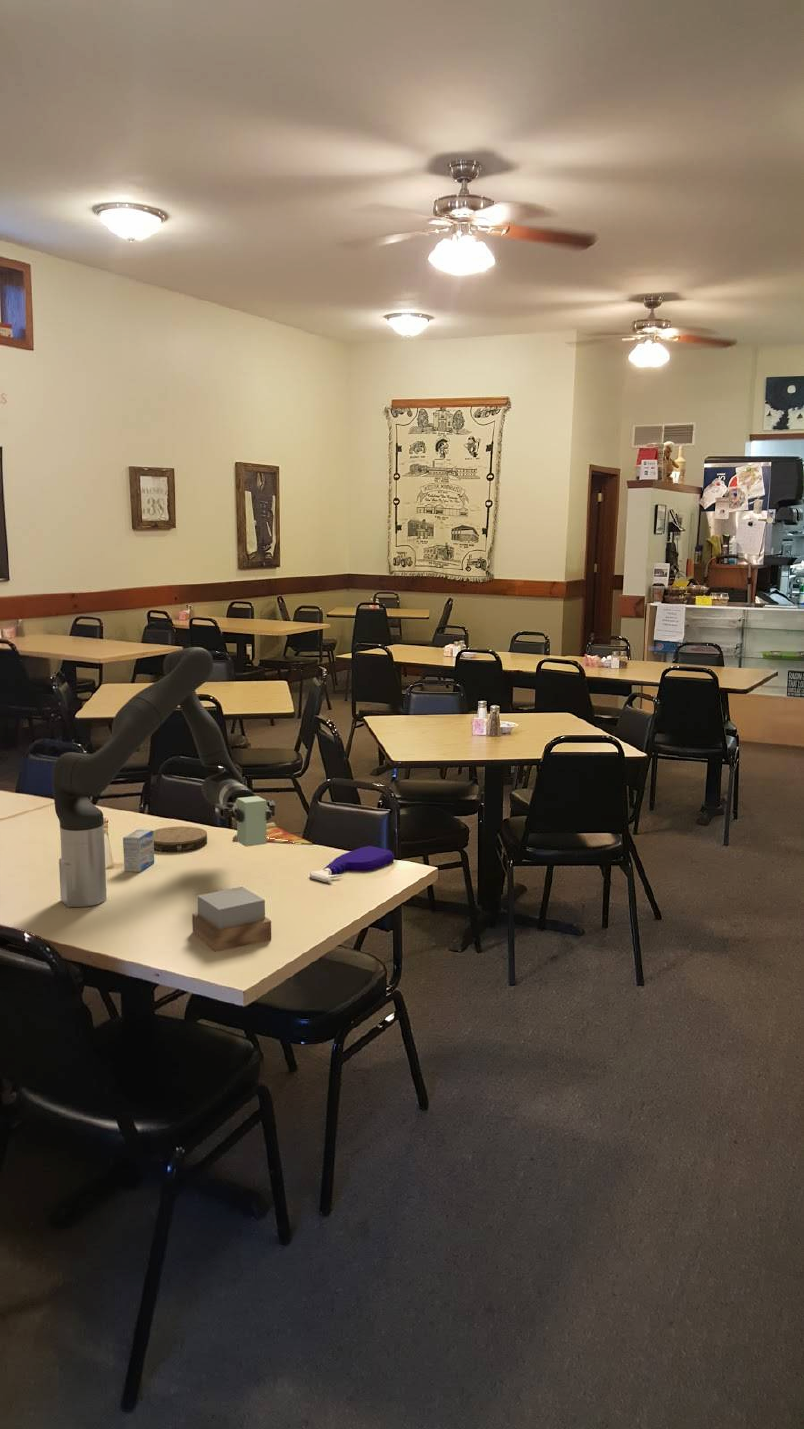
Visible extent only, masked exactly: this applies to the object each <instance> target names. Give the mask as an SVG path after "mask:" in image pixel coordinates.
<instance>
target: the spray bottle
mask: <svg viewBox="0 0 804 1429" xmlns="http://www.w3.org/2000/svg"><path fill="white" fill-rule="evenodd" d="M394 861H395V854H394V852H392V850H389V849H385V848H380V847H377V846H371V845H368V846H367V845H366V846H362V847H360V848H357V849H354V850H351V851H349V852H346V853H343V854H341V855H339V856H337V857H335V858H334V860H332V861H330V862H329V863H328V864H327V865H326V866H325V867H324V868H323V869H320V870H315V871H309V877H310V878H311V879H314V880H317V881H320V882H324V883H328V884H331V883H332V882H333V879H336V878H340V877H341V878H342V877H343V876H342V874H341V873H344V872H369V871H374V870H377V869H380V868H383V867H385V866H387V865H389V864H391V863H393V862H394Z"/></svg>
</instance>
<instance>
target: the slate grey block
mask: <svg viewBox="0 0 804 1429" xmlns="http://www.w3.org/2000/svg"><path fill="white" fill-rule="evenodd" d="M196 899H197V913H198V915H199V916H201V917H202V918H204V919H205V920H207V921H208V922H209V923H211V924H212V925H214V926H215V927H217V928H218V929H223V928H227V927H232V926H236V925H241V924H245V923H250V922H254V921H258V920H263V919H265V917H266V905H265V903H266V902H265V901H266V900H265V899H263V898H262V897H260V896H259V895H257V894H255V893H253V892H252V891H250V890H248V889H247V888H245V887H243V886H239V887H238V886H237V887H235V888H228V889H224V890H219V891H214V892H209V893H203V894H199V895H197V896H196Z"/></svg>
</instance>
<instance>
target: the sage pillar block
mask: <svg viewBox="0 0 804 1429" xmlns="http://www.w3.org/2000/svg"><path fill="white" fill-rule="evenodd" d="M266 803H267V800H266V799H264V798H262V797H260V796H259V795H255V796H253V797H244V798H237V809H239V810H240V811H241V812H242V814H243V821H242V822H238V821H236V834H237V841H236V842H237V843H239V844H241V845H242V846H244V847H254V846H255V847H256V846H259V845H261V846H262V845H267V843H268V842H267V823H268V820H266Z"/></svg>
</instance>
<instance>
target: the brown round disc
mask: <svg viewBox="0 0 804 1429" xmlns="http://www.w3.org/2000/svg"><path fill="white" fill-rule="evenodd" d="M153 838H154V852H157V853H171V854H172V853H174V854H175V853H184V852H192V851H196V850H199V849H202V848H204V847H206V846H207V844H208V833H207V831H206V829H203V828H200V827H195V826H170V827H169V826H167V827H162V828H158V829H154V830H153Z"/></svg>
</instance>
